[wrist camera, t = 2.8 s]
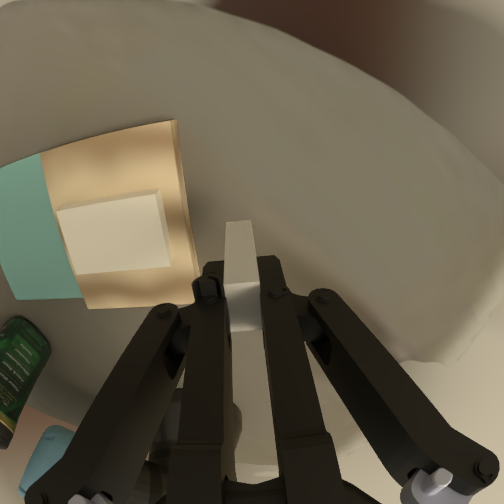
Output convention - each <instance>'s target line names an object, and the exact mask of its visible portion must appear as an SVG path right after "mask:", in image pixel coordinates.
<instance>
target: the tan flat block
mask: <svg viewBox="0 0 504 504" xmlns="http://www.w3.org/2000/svg"><path fill="white" fill-rule="evenodd" d="M40 157H41V162H42V167H43V172H44V177H45V181H46V185H47V190H48V194H49V198H50V201H51V205H52V209H53V213H54V216H55V219H56V223H57V226H58V229H59V233H60V236H61V239H62V242H63V245H64V248H65V251H66V254H67V257H68V260H69V262H70V265H71V268H72V270H73V273H74V276H75V278H76V281H77V283H78V286H79V288H80V291H81V293H82V296H83V298H84V300H85V303H86V305H87V307H88V309H102V308H126V307H145V306H157V305H158V304H162V303H172V304H175V305H178V304H192V303H194V302H195V299H194V294H193V290H192V285H191V284H192V282H193V281H194V280H195V279H196V278H198V277H200V272H199V267H198V262H197V256H196V251H195V245H194V239H193V233H192V227H191V221H190V215H189V209H188V202H187V196H186V189H185V182H184V175H183V168H182V161H181V153H180V145H179V137H178V129H177V120H176V119H175V120H169V121H163V122H157V123H152V124H146V125H141V126H136V127H132V128H127V129H122V130H118V131H114V132H110V133H105V134H101V135H98V136H94V137H90V138H86V139H83V140H79V141H76V142H72V143H69V144H66V145H62V146H59V147H56V148H53V149H50V150H47V151H45V152H42V153H40ZM156 188H160V190H161V196H162V201H163V207H164V212H165V217H166V223H167V228H168V233H169V237H170V242H171V247H172V252H173V256H174V257H173V260H172V263H171V266H170V267H159V268H148V269H137V270H125V271H114V272H103V273H91V274H80V275H77V274H76V271H75V269H74V266H73V263H72V260H71V258H70V255H69V252H68V249H67V246H66V243H65V240H64V237H63V234H62V230H61V227H60V224H59V220H58V217H57V213H56V211H57V210H59V209H60V208H61V207H63V206H64V205H66V204H71V203H76V202H81V201H86V200H91V199H96V198H102V197H107V196H113V195H118V194H124V193H130V192H137V191H143V190H150V189H156Z"/></svg>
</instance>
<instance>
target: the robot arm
mask: <svg viewBox="0 0 504 504" xmlns="http://www.w3.org/2000/svg"><path fill="white" fill-rule="evenodd" d="M191 285H192V290H193V294H194V299H195V302H194V303H193V304H191V305H189V306H187V307H183V308H180V309H178V307H177V306H176V305H175V304H172V303H162V304H158V305H157V306H155V307H153V308H152V310H151V311H150V312H149V314H148V315H147V317H146V318H145V320H144V321H143V323H142V324H141V326H140V327H139V329H138V330H137V332H136V333H135V335H134V337H133V338H132V340H131V341H130V343H129V344H128V346H127V348H126V349H125V351H124V352H123V354H122V355H121V357H120V359H119V360H118V362H117V363H116V365H115V367H114V368H113V370H112V372H111V373H110V375H109V376H108V378H107V380H106V381H105V383H104V385H103V386H102V388H101V390H100V391H99V393H98V395H97V396H96V398H95V400H94V401H93V403H92V405H91V407H90V408H89V410H88V412H87V413H86V415H85V417H84V419H83V420H82V422H81V424H80V426H79V427H78V429H77V431H76V432H74V431H71V430H69V429H67V428H65V427H63V426H59V425H52V426H50V427H48V428H47V429H46V430H45V432H44V433H43V435H42V437H41V438H40V440H39V442H38V444H37V446H36V448H35V450H34V452H33V454H32V456H31V458H30V460H29V462H28V464H27V467H26V469H25V471H24V474H23V476H22V478H21V481H20V484H19V487H18V489H17V492H18V494H19V495H20V496H22V498H23V499H24V500H25V504H381V503H380V502H378V501H377V500H375V499H374V498H372V497H371V496H369V495H368V494H366V493H365V492H363V491H362V490H360V489H359V488H357V487H356V486H354V485H353V484H351V483H349V482H347V481H345V480H342V478H341V474H340V469H339V465H338V460H337V456H336V452H335V448H334V443H333V440H332V437H331V435H330V433H328V432H327V431H326V429H325V425H324V421H323V417H322V413H321V408H320V404H319V400H318V396H317V392H316V388H315V384H314V380H313V376H312V372H311V368H310V364H309V360H308V356H307V352H306V348H305V344H304V341H306V344H307V346H308V347H309V349H310V351H311V352H312V354H313V355H314V357H315V359H316V360H317V362H318V363H319V365H320V366H321V368H322V370H323V371H324V373H325V374H326V376H327V377H328V379H329V381H330V382H331V384H332V385H333V387H334V388H335V390H336V392H337V393H338V395H339V396H340V398H341V399H342V401H343V403H344V404H345V406H346V407H347V409H348V411H349V412H350V414H351V415H352V417H353V418H354V420H355V421H356V423H357V425H358V426H359V428H360V429H361V431H362V432H363V434H364V436H365V437H366V439H367V440H368V442H369V443H370V445H371V446H372V448H373V450H374V451H375V453H376V454H377V456H378V458H379V459H380V461H381V462H382V464H383V465H384V467H385V468H386V470H387V471H388V472H389V474H390V475H391V476H392V477H393V478H394V480H395V481H396V482H397V483H398V484H399V485H401V486H402V487H403V488H402V490H401V493H400V500H401V503H402V504H468V503H469V501H470V500H471V498H472V497H473V495H475V494H476V493H477V492H479V491H480V490H482V489H484V488H486V487H487V486H489V485H490V484H492V483H493V482H494V480H495V479H496V478H497V476H498V472H499V461H498V458H497V456H496V455H495V454H494V453H493V452H491V451H490V450H488V449H486V448H485V447H483V446H481V445H479V444H478V443H476V442H475V441H473V440H471V439H470V438H468V437H466V436H465V435H463V434H461V433H460V432H458V431H457V430H454V429H453V428H452V427H450V425H449V424H448V423H447V422H446V420H445V419H444V418H443V417H442V415H441V414H440V413H439V412H438V410H437V409H436V408H435V407H434V405H433V404H432V403H431V402H430V401H429V399H428V398H427V397H426V396H425V394H424V393H423V392H422V391H421V390H420V389H419V387H418V386H417V385H416V384H415V382H414V381H413V380H412V379H411V378H410V377H409V375H408V374H407V373H406V372H405V371H404V369H403V368H402V367H401V366H400V365H399V363H398V362H397V361H396V360H395V359H394V358H393V356H392V355H391V354H390V353H389V352H388V351H387V349H386V348H385V347H384V346H383V345H382V344H381V343H380V341H379V340H378V339H377V338H376V337H375V336H374V334H373V333H372V332H371V331H370V330H369V329H368V328H367V327H366V325H365V324H364V323H363V322H362V321H361V320H360V319H359V317H358V316H357V315H356V314H355V313H354V312H353V311H352V310H351V309H350V307H349V306H348V305H347V304H346V303H345V302H344V301H343V300H342V298H341V297H340V296H339V295H338V294H337V293H336V292H334V291H333V290H330V289H325V288H320V289H315V290H313V291H312V292H311V293H310V294H309V296H308V297H307V296H299V295H296V294H293V293H292V292H291V291H290V290H289V288H288V287H287V286H286V282H285V279H284V275H283V271H282V267H281V264H280V260H279V259H278V258H277V257H276V256H275V255H271V256H260V257H256V252H255V245H254V238H253V231H252V224H251V220H245V221H234V222H226V238H225V259H224V260H223V261H212V262H207V264H206V265H205V266H204V267H203V273H202V276H200V277H198V278H196V279H195V280H194V281H193V282H192V284H191ZM230 329H231V332H236V331H248V330H259V329H263V343H264V349H265V357H266V366H267V374H268V382H269V391H270V399H271V408H272V416H273V425H274V433H275V441H276V450H277V458H278V467H279V477H278V478H275V479H272V480H269V481H265V482H262V483H259V484H246V483H241V482H237V478H236V472H235V456H234V451H235V449H236V446H237V443H238V440H239V437H240V434H241V431H242V415H241V412H240V410H239V408H238V407H237V406H236V405H235V404H234V403H233V390H232V339H231V333H230ZM184 368H185V374H184V383H183V389H177V390H175V389H176V387H177V384H178V382H179V380H180V377H181V375H182V373H183V371H184ZM148 452H149V460H148V461H147V460H145V459H146V457H147V454H148Z"/></svg>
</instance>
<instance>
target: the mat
mask: <svg viewBox="0 0 504 504" xmlns="http://www.w3.org/2000/svg"><path fill="white" fill-rule="evenodd" d="M44 152H45V151H44ZM41 153H42V152H41ZM0 264H1V267H2V269H3V272H4V274H5V276H6V279H7V281H8V283H9V285H10V287H11V290H12V292H13V294H14V296H15V298H16V300H33V299H62V298H83V296H82V293H81V291H80V288H79V286H78V283H77V281H76V278H75V276H74V273H73V270H72V268H71V265H70V262H69V260H68V257H67V254H66V251H65V248H64V245H63V242H62V239H61V236H60V233H59V229H58V226H57V223H56V219H55V216H54V213H53V209H52V205H51V201H50V198H49V194H48V190H47V185H46V181H45V177H44V172H43V167H42V162H41V157H40V153H38V154H35V155H32V156H30V157H27V158H24V159H21V160H19V161H16V162H14V163H11V164H9V165H6V166H4V167H1V168H0Z"/></svg>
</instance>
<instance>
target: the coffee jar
mask: <svg viewBox="0 0 504 504" xmlns="http://www.w3.org/2000/svg"><path fill="white" fill-rule="evenodd" d="M50 355H51V349H50V346H49V344H48V343H47V341H46V339H45V338H44V336H43V335H42V334H41V332H40V331H39V330H38V329H37V328H36V327H35V326H33V325H31V324H30V323H29V322H27V321H26V320H24V319H23V318H14V319H12V320H10V321H8V322H7V323H6V324H5V325H4V326H3V327H2V329H1V330H0V449H7V448H8V446H9V444H10V441H11V439H12V437H13V435H14V432H15V428H16V425H17V421H18V419H19V416H20V414H21V412H22V409H23V407H24V405H25V403H26V401H27V399H28V397H29V394H30V392H31V390H32V388H33V386H34V384H35V382H36V381H37V379H38V377H39V375H40V373H41V371H42V370H43V368H44V366H45V364H46V362H47V360H48V359H49V357H50Z"/></svg>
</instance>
